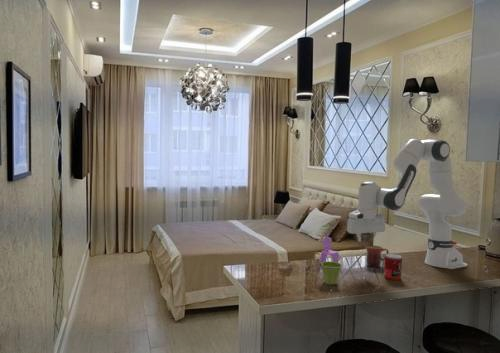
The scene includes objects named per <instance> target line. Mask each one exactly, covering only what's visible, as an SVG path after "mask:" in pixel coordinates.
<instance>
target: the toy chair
mask: <svg viewBox="0 0 500 353" xmlns="http://www.w3.org/2000/svg"><path fill="white" fill-rule="evenodd" d="M321 244H322V246H323V250H322V251H321V253H320V261H319V262H318V265H321V263H322V262H327V259H328V258H327V257H328V255H329V256H330V257H331V259H332V262H337V263H339V258H340V253H339V251H336V250H332V249H330V247H332V245H333V239H332V237H330V236H324V237H323V238H322V241H321Z"/></svg>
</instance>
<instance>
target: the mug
mask: <svg viewBox="0 0 500 353" xmlns="http://www.w3.org/2000/svg"><path fill="white" fill-rule="evenodd" d="M365 250H366V258H365V259H366V265H367V266H368V267H371V268H378V267H380V266H381V263H382V261H385V256H384V257H382V252H384V251H386V254H390V253H389V250H388V249H387V248H383V246H380V245H374V244H373V246H368V247H365Z"/></svg>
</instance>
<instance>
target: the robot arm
mask: <svg viewBox="0 0 500 353" xmlns="http://www.w3.org/2000/svg"><path fill="white" fill-rule="evenodd" d="M450 153H451V147H450V145H449V143H448V141H445V140H443V139H432V138H431V139H422V140H421V139H417V138H411V139H410V140H408V141H407V142H406V143H405V144H404V145H403V147H401V148H400V150H398V153H397V154H396V156H395V158H394V160H393V165H394V168H395V170H396V171H397V172H398V173H399V174H401V175H400V178H399V180H398V181H397V184H396V186H395V187H393V188H385V187H382V186H380V185H378V184H377V183H376V182H375V181H371V180H370V181H363V182H362V183H360V185H359V187H358V198H357V200H358V205H357V209H355V210H354V211H351V212H349V213H348V217H349V218H348V220H347V224H346V226H347V227H346V231H347V233H349V234H351V235H353V234H354V235H355V234H356V236H357V238H358V239H357V240H358V241H357V242H358V243H359V242H363V238H361V236H360V235H361V233H371V234H374V238H373V242H374V241H375V237H376V236H377V233H385V231H386V221H385V218H386V217H385V215H384V214H383V213H377V207H380V208H384V209H387V210H391V211H399V210H400V209H402V207H403V206H404V204H405V202H406V197H407V195H408V193H409V190H410V188H411V186H412V184H413V182H414V180H415V177H416V175H417V171H418V170H417V167H418V164H419V163H420V162H421V160H422V161H428V162H429V166H428V167H429V168H428V169H429V170H428V172H429V185H430V186H431V187H432V188H433V189H435V190H436V191H437V192H438V193H426V194H423V195H421V196H420V197H419V199H418V207H419V209H420V211H422V212H423V213H424V215H425V217H426V219H427V222H428V228H429V229H428V233H429V234H428V239H427V252H426V255H425V258H424V259H425V260H424V264H426V265H428V266H432V267H437V268H444V269H449V270H455V269H460V268H465V267H466V268H467V267H468V263H466V262H464V261H463V257H464V256H463V255H462V253H461V252H459V251H458V249H456V248H455V247H454V246H456V245H457V244H458V242H457V241H456V240H452V225H451V224H450V223H449V222H448V221H446V220H445V217H444V216H449V217H461V216H463V215H465V213H466V212H467V208H468V204H467V202H466V200H465V199H464V198H463V197H462V196H461V195H459V193H458V192H457V189H455V188H456V187H455V185H454V182H453V172H452V171H453V169H452V161H451V160H452V159H451V156H450Z"/></svg>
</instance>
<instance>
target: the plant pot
mask: <svg viewBox="0 0 500 353" xmlns="http://www.w3.org/2000/svg"><path fill="white" fill-rule="evenodd" d="M320 265H321V268H322V274H323V276H322V277H323V282H324V284H326V285H337V284H339V282H338V281H339V276H340V273H341V269H342V266H343V264H341V263H339V262H338V263H337V262H333V261H326V262H322V263H321V264H320Z"/></svg>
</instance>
